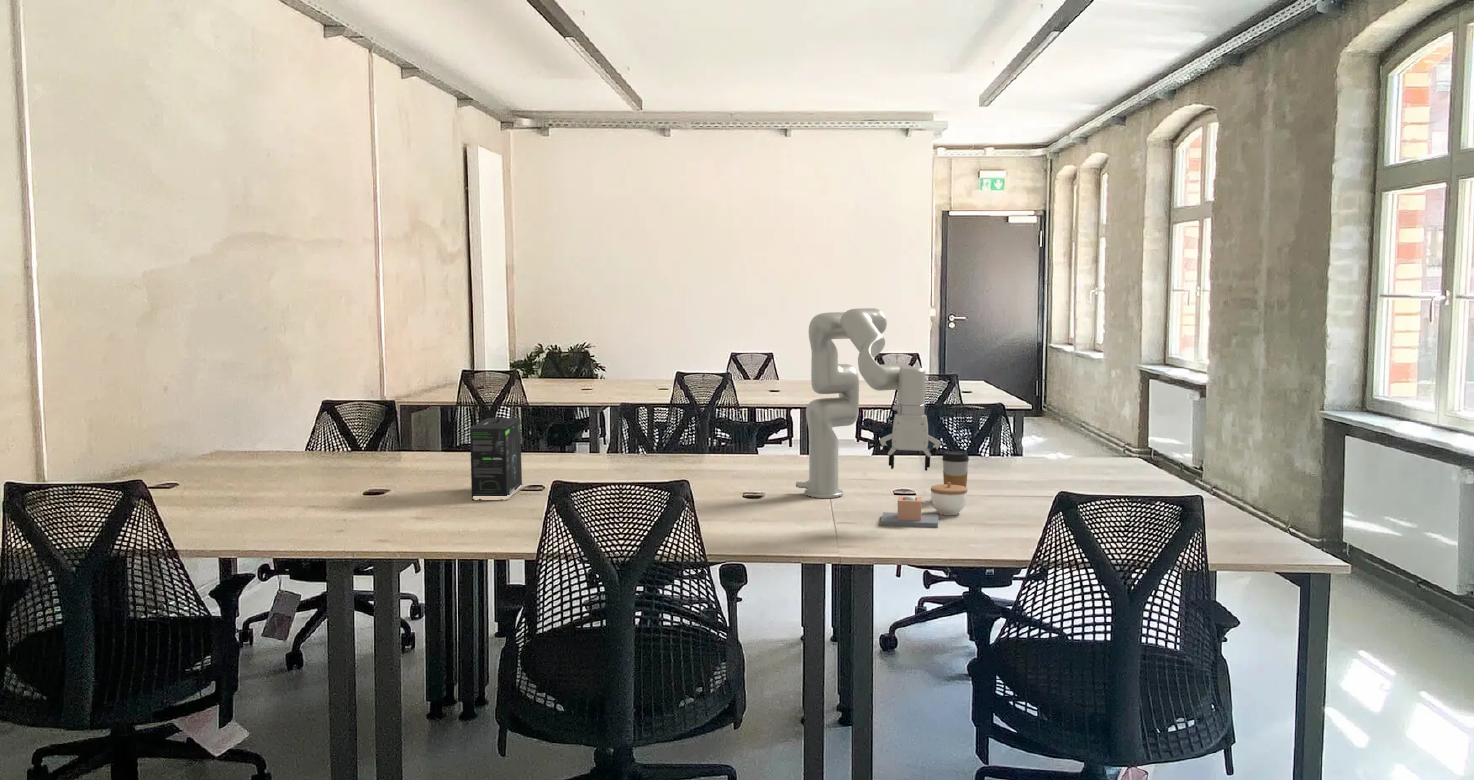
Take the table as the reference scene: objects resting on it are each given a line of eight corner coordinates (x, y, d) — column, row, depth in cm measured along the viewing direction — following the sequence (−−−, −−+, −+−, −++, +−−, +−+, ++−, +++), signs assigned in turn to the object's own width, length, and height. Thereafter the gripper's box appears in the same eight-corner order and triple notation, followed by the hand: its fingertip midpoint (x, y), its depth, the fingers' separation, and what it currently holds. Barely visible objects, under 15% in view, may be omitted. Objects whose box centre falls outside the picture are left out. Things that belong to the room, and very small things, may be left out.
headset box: (507, 500, 337) (505, 420, 335) (470, 500, 338) (468, 420, 335) (523, 487, 360) (521, 412, 357) (488, 487, 360) (486, 412, 357)
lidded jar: (964, 518, 310) (965, 486, 309) (928, 515, 313) (928, 484, 312) (968, 510, 320) (969, 480, 319) (933, 508, 323) (933, 478, 322)
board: (880, 525, 301) (880, 500, 300) (883, 516, 312) (883, 492, 312) (937, 527, 297) (938, 502, 297) (938, 518, 309) (938, 494, 308)
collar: (897, 519, 302) (897, 500, 302) (898, 514, 309) (898, 496, 308) (920, 520, 301) (921, 501, 300) (921, 515, 307) (921, 497, 307)
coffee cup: (968, 502, 332) (969, 455, 330) (941, 501, 333) (942, 454, 332) (968, 497, 340) (968, 451, 338) (941, 496, 341) (942, 450, 340)
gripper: (879, 410, 300) (878, 470, 302) (941, 413, 297) (939, 473, 299) (881, 407, 307) (879, 465, 309) (941, 409, 304) (939, 468, 306)
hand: (909, 469), depth 304 cm, fingers open, 9 cm apart
